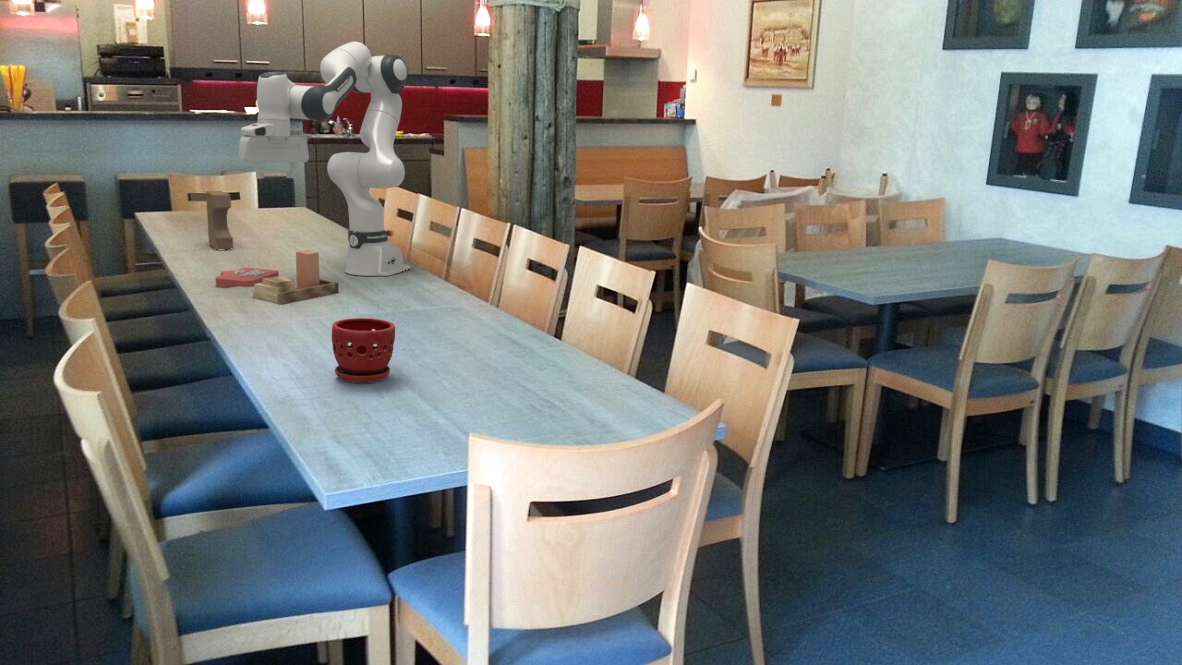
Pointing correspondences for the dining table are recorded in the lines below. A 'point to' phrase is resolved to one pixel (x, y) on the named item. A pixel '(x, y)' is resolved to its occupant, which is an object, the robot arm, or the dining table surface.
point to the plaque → (244, 277)
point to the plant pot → (362, 349)
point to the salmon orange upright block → (307, 269)
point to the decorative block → (218, 219)
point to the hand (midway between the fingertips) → (275, 178)
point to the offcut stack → (272, 288)
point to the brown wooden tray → (307, 292)
